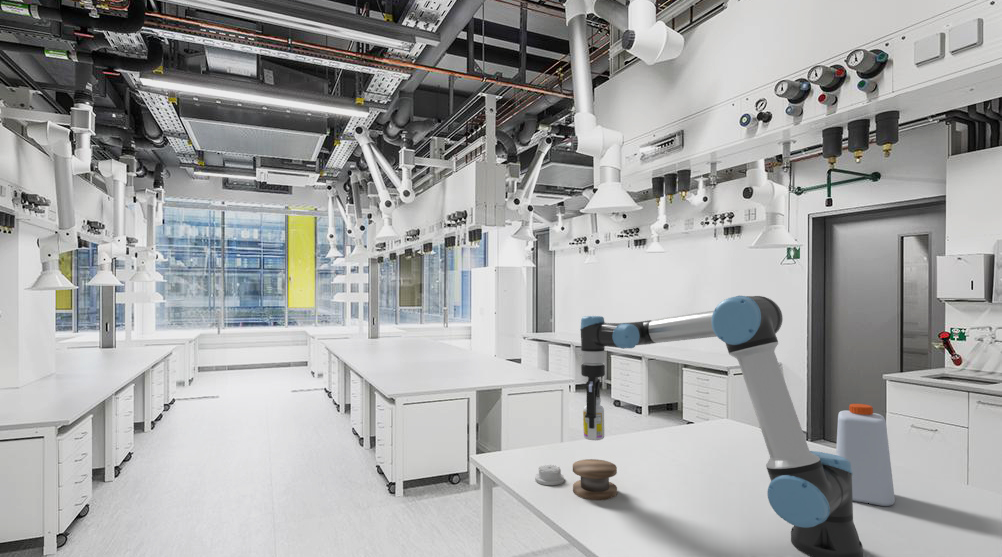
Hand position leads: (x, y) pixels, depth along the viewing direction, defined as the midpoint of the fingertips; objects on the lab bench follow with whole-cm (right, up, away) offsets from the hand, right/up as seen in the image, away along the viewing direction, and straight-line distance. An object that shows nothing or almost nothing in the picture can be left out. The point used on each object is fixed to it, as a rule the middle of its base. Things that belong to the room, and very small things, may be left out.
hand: (593, 435), depth 165 cm
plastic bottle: (+83, -17, -6) cm, 85 cm away
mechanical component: (-13, -19, +10) cm, 25 cm away
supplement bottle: (0, -1, 0) cm, 1 cm away
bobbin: (0, -18, -1) cm, 18 cm away
